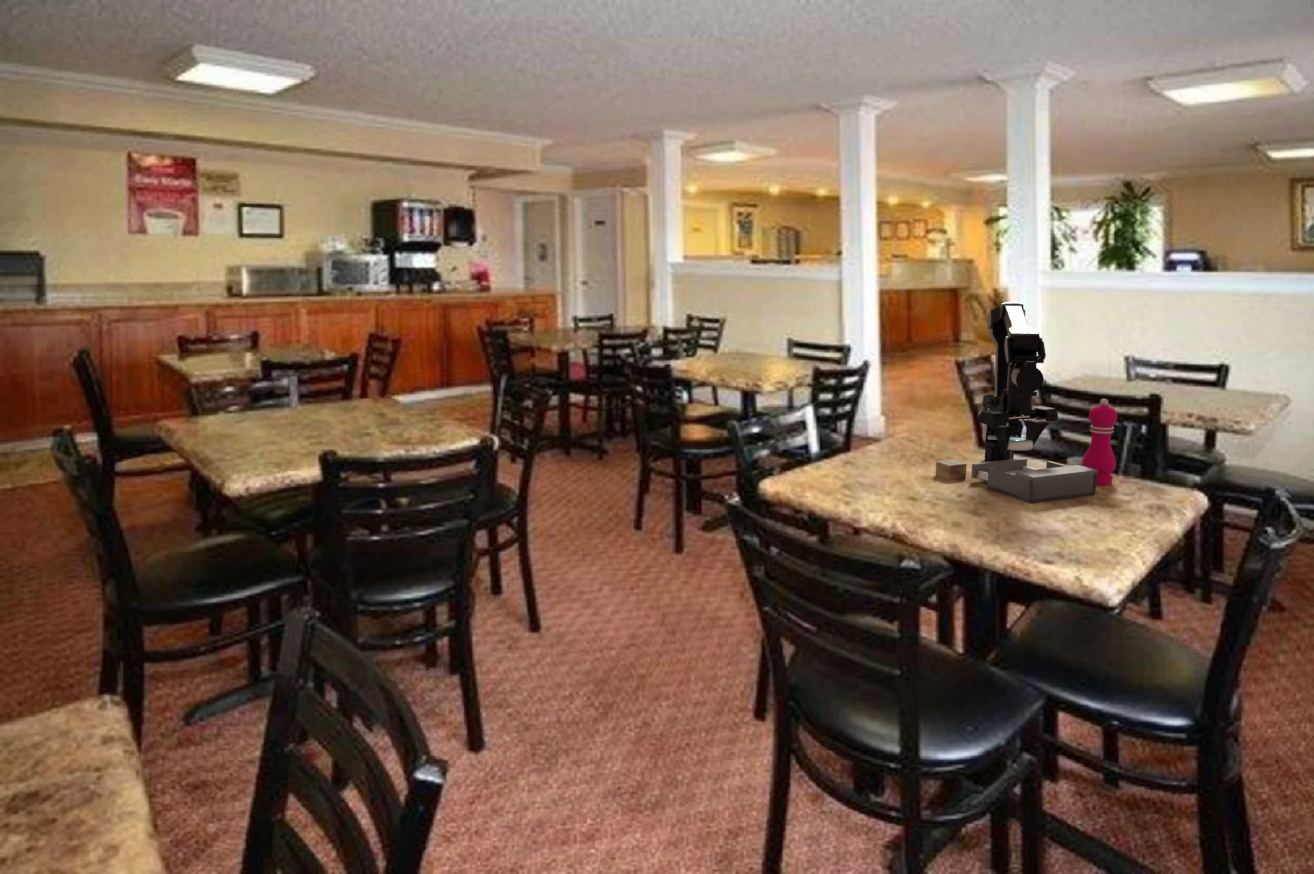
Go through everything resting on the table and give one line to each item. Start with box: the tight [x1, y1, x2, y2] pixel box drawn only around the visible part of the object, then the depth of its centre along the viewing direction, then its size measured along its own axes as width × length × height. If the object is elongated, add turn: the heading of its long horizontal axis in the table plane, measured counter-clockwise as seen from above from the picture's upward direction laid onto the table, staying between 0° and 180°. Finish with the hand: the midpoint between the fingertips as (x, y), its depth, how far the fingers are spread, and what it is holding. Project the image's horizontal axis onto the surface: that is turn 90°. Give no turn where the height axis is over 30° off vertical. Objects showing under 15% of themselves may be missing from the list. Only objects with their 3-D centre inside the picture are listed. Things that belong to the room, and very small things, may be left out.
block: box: [935, 459, 967, 481], centre depth 224 cm, size 5×5×4 cm
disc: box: [1007, 437, 1034, 451], centre depth 215 cm, size 7×7×2 cm
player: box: [986, 460, 1097, 504], centre depth 208 cm, size 18×14×6 cm
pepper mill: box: [1081, 398, 1118, 486], centre depth 215 cm, size 7×7×20 cm
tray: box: [971, 457, 1038, 482], centre depth 215 cm, size 16×14×3 cm
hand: (1015, 452), depth 215 cm, fingers closed on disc, 7 cm apart
